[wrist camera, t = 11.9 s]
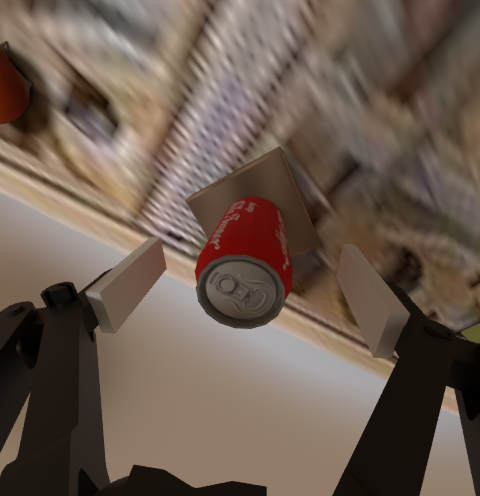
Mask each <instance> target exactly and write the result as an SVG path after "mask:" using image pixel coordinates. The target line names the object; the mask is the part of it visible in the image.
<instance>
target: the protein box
mask: <svg viewBox="0 0 480 496" xmlns="http://www.w3.org/2000/svg"><path fill="white" fill-rule="evenodd" d="M461 334H462V335H463V336H464V337H465V338H466V339H467V340H468V341H471V342H475V343H480V323H478V324H476V325H473V326H471V327H469V328H467V329H465V330H462V331H461Z"/></svg>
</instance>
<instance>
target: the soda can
mask: <svg viewBox="0 0 480 496" xmlns="http://www.w3.org/2000/svg"><path fill="white" fill-rule="evenodd" d="M292 274H293V271H292V266H291V260H290V254H289V249H288V243H287V238H286V232H285V227H284V221H283V218H282V216H281V214H280V211H279V209H278V208H277V207H276V206H275V205H274V204H272V203H271V202H270V201H268V200H266V199H263V198H260V197H245V198H242V199H240V200H238V201H236V202H234V203H233V204H232V205H231V207H230V208H229V209H228V210H227V211H226V213H225V214H224V216H223V218H222V219H221V221H220V223H219V224H218V226H217V227H216V229H215V231H214V232H213V234H212V236H211V237H210V239H209V241H208V242H207V244H206V245H205V247H204V249H203V250H202V252H201V254H200V255H199V258H198V262H197V265H196V269H195V275H196V280H197V286H196V291H197V296H198V302H199V303H200V304H201V306H202V308H203V309H204V310H205V312H206V313H207V314H208V315H209V316H211V317H212V318H213V319H215V320H216V321H217V322H219V323H221V324H224V325H227V326H230V327H233V328H244V329H252V328H255V327H259V326H263V325H266V324H267V323H269V322H270V321H271V320H273V319H274V318H276V317H277V316H278V314H279V313H280V311H281V309H282V307H283V306H284V303H285V300H286V298H287V296H288V294H289V293H290V291H291V289H292Z"/></svg>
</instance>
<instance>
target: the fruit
mask: <svg viewBox="0 0 480 496" xmlns="http://www.w3.org/2000/svg"><path fill="white" fill-rule="evenodd" d="M6 43H7V41H5V42H4V43H2V44H1V45H0V124H5V123H7V122H10V121H12V120H15V119H17V118H19V117H20V116H21V115H22V114H23V112H24V111H25V109H26V108H27V107H28V105H29V91H30V87H31V84H33V83H31V82H29V81H28V80H26V79H25V78H24V77H23V76H22V75H21V73H20V72H19V71H18V70H17V69H16V68H15V67H14V66H13V64H12V63H11V62H10V60H9V59H8V57H7V55H6V53H5V49H4V46H5V44H6Z"/></svg>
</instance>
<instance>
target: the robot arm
mask: <svg viewBox="0 0 480 496" xmlns="http://www.w3.org/2000/svg"><path fill="white" fill-rule="evenodd" d="M166 269H167V268H166V263H165V258H164V253H163V247H162V242H161V237H150V238H149V239H148V240H147V241H145V242H144V243H143V244H142V245H141V246H139V247H138V248H137V249H136V250H135V251H133V252H132V253H131V254H130V255H129V256H127V257H126V258H125V259H124V260H123V261H121V262H120V263H119V264H118V265H117V266H115V267H114V268H112V269H110V270H108V271H106V272H104V273H103V274H101V275H100V276H99V277H98V278H97V279H95V280H94V281H93V282H91V283H90V284H89V285H88V286H87V287H85V288H84V289H83V290H82V291H80V292H79V293H77V291H76V289H75V287H74V284H73V283H71V282H62V283H58V284H55V285H52V286H50V287H48V288H46V289H45V290H44V291H42V293H41V297H42V299H43V301H44V303H45V305H46V306H47V307H45V308H38V309H36V308H35V307H34V305H33V303H32V302H28V301H27V302H20V303H15V304H13V305H10V306H9V307H7V308H5V309H4V310H2V311H1V312H0V452H1V450H2V448H3V446H4V444H5V442H6V440H7V438H8V436H9V434H10V432H11V429H12V428H13V426H14V424H15V421H16V419H17V418H18V416H19V414H20V411H21V409H22V407H23V405H24V403H25V401H26V399H27V397H28V395H29V393H30V391H31V393H30V398H29V403H28V408H27V412H26V418H25V422H24V427H23V432H22V437H21V442H20V447H19V453H18V455H17V458H16V460H15V461H13V462H11V463H9V464H7V465H6V467H5V468H4V469H3V471H2V473H1V476H0V496H267V493H266V492H267V487H265V486H259V485H253V484H247V483H241V482H235V481H230V482H225V483H220V484H215V485H210V486H205V487H200V488H194V487H191V486H190V485H188V484H186V483H185V482H183V481H182V480H180V479H179V478H177V477H175V476H174V475H172V474H170V473H169V472H167V471H165V470H163V469H157V468H151V467H145V466H139V465H133V468H132V470H131V472H130V475H129V476H127V477H124V478H121V479H118V480H116V481H114V482H112V483H110V479H109V476H108V473H107V468H106V462H105V449H104V436H103V422H102V409H101V396H100V384H99V370H98V357H97V344H96V334H95V332H94V329H95V328H96V327H97V326H98V325H99V326H100V328H101V331H102V332H104V333H114V334H115V333H116V332H117V331H118V329H119V328H120V327H121V326H122V324H123V323H124V322H125V320H126V319H127V318H128V317H129V315H130V314H131V313H132V312H133V310H134V309H135V308H136V307H137V305H138V304H139V303H140V301H141V300H142V299H143V298H144V296H145V295H146V294H147V292H148V291H149V290H150V289H151V288H152V286H153V285H154V284H155V283H156V281H157V280H158V279H159V277H160V276H161V275H162V274H163V272H164V271H165V270H166ZM336 279H337V281H338V283H339V285H340V287H341V290H342V292H343V294H344V296H345V298H346V300H347V302H348V305H349V307H350V309H351V311H352V313H353V315H354V317H355V319H356V322H357V324H358V326H359V328H360V330H361V332H362V334H363V337H364V339H365V341H366V343H367V345H368V347H369V349H370V352H371V354H372V356H373V357H375V358H386V359H391V357H392V355H393V353H394V350H395V351H396V353H397V355H398V356H399V359H398V361H397V363H396V365H395V367H394V369H393V371H392V373H391V375H390V378H389V380H388V382H387V384H386V386H385V388H384V390H383V392H382V394H381V396H380V398H379V400H378V403H377V405H376V407H375V409H374V411H373V413H372V415H371V417H370V419H369V421H368V423H367V425H366V427H365V430H364V431H363V434H362V436H361V438H360V440H359V442H358V444H357V446H356V448H355V450H354V452H353V454H352V456H351V458H350V460H349V463H348V465H347V467H346V468H345V470H344V472H343V474H342V477H341V479H340V481H339V483H338V485H337V487H336V489H335V491H334V493H333V495H332V496H419V495H420V491H421V487H422V483H423V478H424V475H425V471H426V466H427V462H428V458H429V454H430V450H431V446H432V442H433V437H434V433H435V429H436V425H437V421H438V417H439V413H440V409H441V405H442V401H443V396H444V392H445V388H446V386H448V387H451V388H454V390H455V395H456V400H457V405H458V410H459V414H460V419H461V424H462V429H463V434H464V439H465V444H466V449H467V454H468V459H469V464H470V469H471V474H472V478H473V483H474V489H475V494H476V496H480V343H475V342H471V341H468V340H464V339H461V338H457V337H456V336H455V334H454V333H453V332H452V331H451V330H450V329H448V328H447V327H446V326H444V325H442V324H440V323H438V322H435V321H432V320H429V319H428V318H427V317H426V316H425V315H424V314H423V312H422V311H421V310H420V309H419V308H418V307H417V306H416V304H415V303H414V302H412V300H411V299H410V297H409V296H407V294H406V293H405V292H404V291H403V289H402V288H400V287H399V286H397V285H396V284H394V283H392V282H384V280H383V279H382V278H381V276H380V275H379V274H378V273H377V271H376V270H375V269H374V268H373V266H372V265H371V264H370V263H369V261H368V260H367V259H366V258H365V256H364V255H363V254H362V252H361V251H360V250H359V249H358V247H357V246H356V245H355V244H343V246H342V250H341V255H340V260H339V264H338V269H337V274H336ZM16 349H17V350H16Z"/></svg>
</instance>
